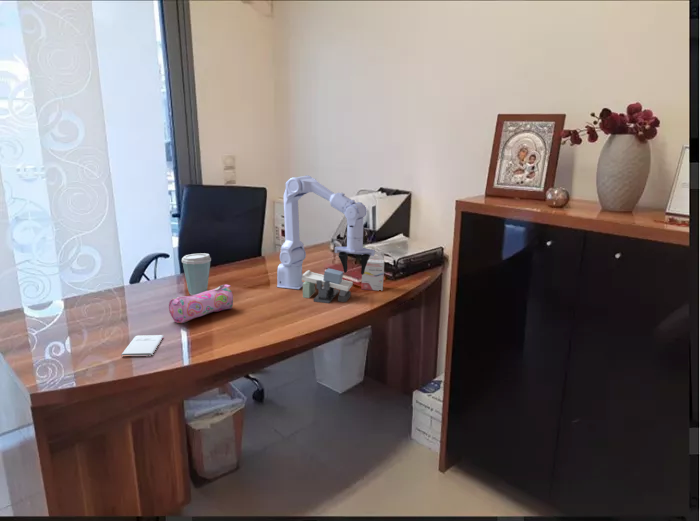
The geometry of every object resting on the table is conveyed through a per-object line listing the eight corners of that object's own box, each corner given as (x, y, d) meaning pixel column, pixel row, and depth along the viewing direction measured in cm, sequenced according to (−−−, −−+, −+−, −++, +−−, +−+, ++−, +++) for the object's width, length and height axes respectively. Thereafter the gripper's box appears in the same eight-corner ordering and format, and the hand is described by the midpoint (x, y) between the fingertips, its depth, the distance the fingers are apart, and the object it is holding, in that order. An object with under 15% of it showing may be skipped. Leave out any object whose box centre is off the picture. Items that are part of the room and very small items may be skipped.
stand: (313, 301, 183) (313, 282, 180) (324, 290, 195) (324, 272, 193) (329, 303, 181) (329, 283, 179) (338, 292, 193) (339, 273, 191)
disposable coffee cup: (177, 295, 186) (174, 256, 182) (196, 286, 196) (193, 249, 192) (200, 299, 182) (198, 259, 178) (218, 290, 192) (216, 253, 188)
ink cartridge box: (361, 289, 196) (362, 253, 192) (362, 285, 201) (363, 250, 197) (382, 291, 196) (384, 254, 192) (383, 287, 200) (384, 251, 196)
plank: (299, 287, 184) (300, 276, 183) (308, 279, 194) (309, 268, 192) (345, 299, 181) (347, 287, 179) (352, 290, 190) (354, 279, 189)
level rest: (302, 297, 187) (302, 283, 185) (308, 291, 193) (308, 278, 192) (309, 298, 186) (309, 284, 184) (315, 292, 192) (315, 278, 191)
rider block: (323, 281, 184) (324, 271, 183) (326, 278, 188) (328, 268, 187) (338, 285, 183) (340, 275, 182) (341, 281, 187) (343, 271, 186)
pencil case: (221, 304, 179) (220, 280, 176) (237, 310, 173) (236, 285, 170) (167, 320, 163) (165, 294, 160) (183, 328, 157) (181, 301, 155)
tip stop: (338, 301, 183) (338, 296, 183) (343, 295, 190) (343, 290, 189) (345, 302, 183) (345, 297, 182) (350, 296, 189) (350, 291, 189)
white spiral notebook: (121, 359, 137) (135, 340, 149) (152, 358, 138) (164, 339, 150) (121, 353, 137) (135, 335, 149) (152, 353, 138) (163, 334, 150)
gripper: (332, 237, 177) (332, 274, 181) (372, 240, 173) (371, 277, 177) (338, 233, 183) (337, 268, 187) (376, 236, 180) (375, 272, 184)
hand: (354, 272), depth 183 cm, fingers open, 6 cm apart
